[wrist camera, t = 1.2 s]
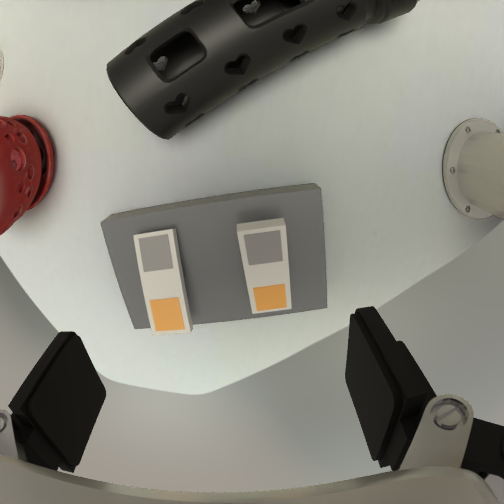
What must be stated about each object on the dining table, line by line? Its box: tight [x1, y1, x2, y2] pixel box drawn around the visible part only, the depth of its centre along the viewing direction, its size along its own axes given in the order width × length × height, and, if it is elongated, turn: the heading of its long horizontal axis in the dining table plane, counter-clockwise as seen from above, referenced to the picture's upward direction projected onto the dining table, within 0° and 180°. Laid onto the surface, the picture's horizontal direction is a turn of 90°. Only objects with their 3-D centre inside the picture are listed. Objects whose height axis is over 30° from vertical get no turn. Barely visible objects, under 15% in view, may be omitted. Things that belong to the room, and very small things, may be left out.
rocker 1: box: [133, 228, 193, 335], centre depth 30 cm, size 4×10×1 cm, turn 8°
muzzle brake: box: [107, 0, 420, 139], centre depth 21 cm, size 10×28×10 cm, turn 123°
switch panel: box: [100, 183, 327, 329], centre depth 32 cm, size 22×13×4 cm, turn 98°
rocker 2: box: [237, 218, 292, 314], centre depth 29 cm, size 4×10×1 cm, turn 8°
